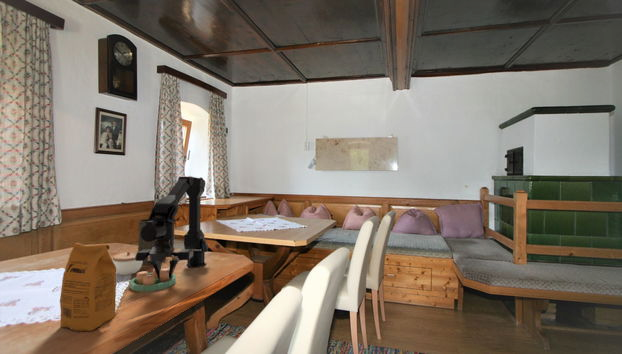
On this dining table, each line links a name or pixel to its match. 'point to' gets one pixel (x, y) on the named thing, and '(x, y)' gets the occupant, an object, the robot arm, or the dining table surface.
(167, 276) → the bead
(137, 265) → the lidded jar
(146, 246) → the beer stein
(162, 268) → the bead
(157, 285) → the ring tray
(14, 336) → the dining table surface
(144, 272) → the bead
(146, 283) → the bead
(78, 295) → the coffee package
